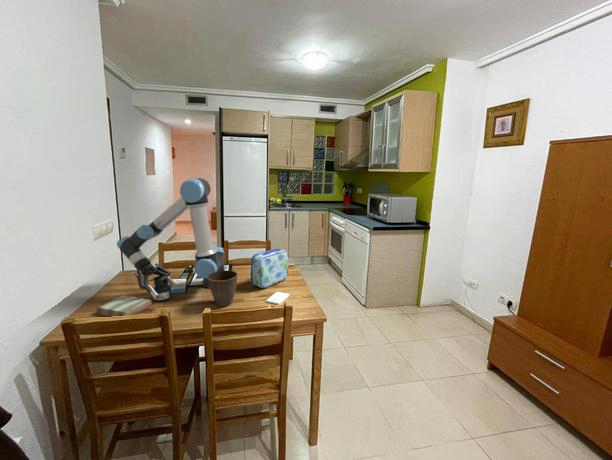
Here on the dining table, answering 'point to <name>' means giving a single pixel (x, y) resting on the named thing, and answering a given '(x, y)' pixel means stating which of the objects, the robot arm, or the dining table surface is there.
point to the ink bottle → (162, 289)
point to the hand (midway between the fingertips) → (165, 291)
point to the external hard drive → (277, 298)
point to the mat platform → (124, 306)
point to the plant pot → (223, 286)
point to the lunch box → (269, 267)
